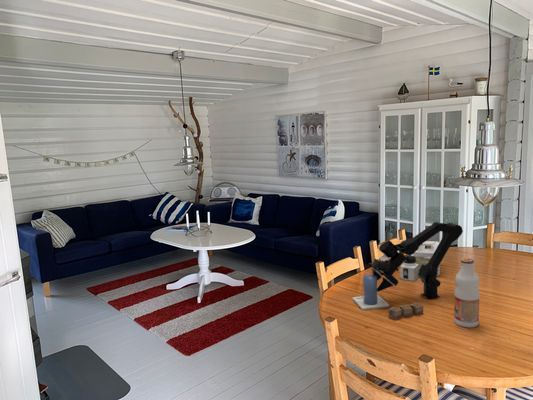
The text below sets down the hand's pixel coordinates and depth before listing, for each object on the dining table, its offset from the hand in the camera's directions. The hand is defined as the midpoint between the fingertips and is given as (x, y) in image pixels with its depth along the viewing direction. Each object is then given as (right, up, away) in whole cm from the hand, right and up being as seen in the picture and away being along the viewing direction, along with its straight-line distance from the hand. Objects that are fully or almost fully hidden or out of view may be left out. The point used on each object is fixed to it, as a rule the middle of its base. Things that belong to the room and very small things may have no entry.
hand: (373, 287), depth 197 cm
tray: (-1, -8, +1) cm, 8 cm away
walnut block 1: (+6, -10, -16) cm, 19 cm away
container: (+29, -2, +32) cm, 43 cm away
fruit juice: (+33, -10, -25) cm, 42 cm away
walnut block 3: (+16, -9, -13) cm, 23 cm away
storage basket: (+43, +1, +43) cm, 61 cm away
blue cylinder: (-1, -7, +1) cm, 7 cm away
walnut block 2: (+11, -10, -14) cm, 20 cm away
